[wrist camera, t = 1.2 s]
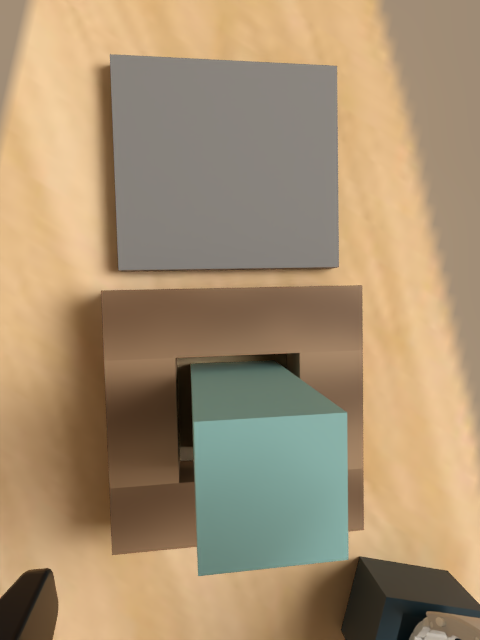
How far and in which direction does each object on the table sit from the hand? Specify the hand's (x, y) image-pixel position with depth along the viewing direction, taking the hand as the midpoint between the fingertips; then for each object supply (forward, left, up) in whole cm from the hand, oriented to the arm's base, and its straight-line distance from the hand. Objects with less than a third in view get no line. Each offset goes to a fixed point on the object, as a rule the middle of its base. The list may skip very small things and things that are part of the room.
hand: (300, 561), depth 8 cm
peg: (-1, 0, -14) cm, 14 cm away
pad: (+11, 0, -14) cm, 18 cm away
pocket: (-1, 0, -14) cm, 14 cm away
